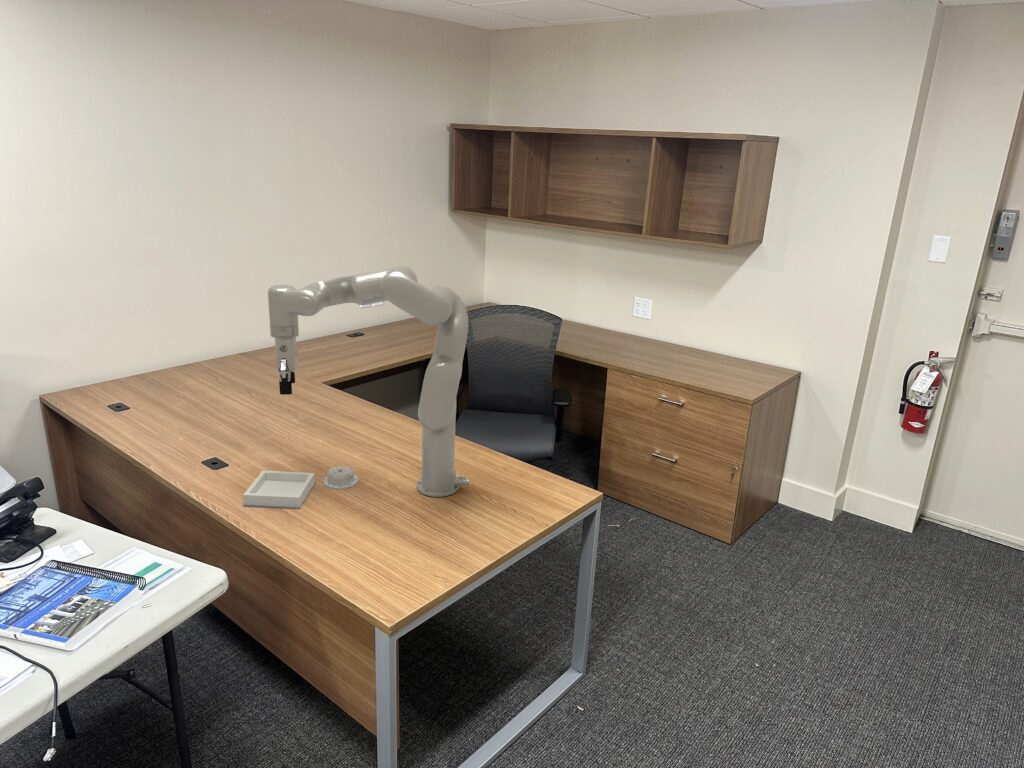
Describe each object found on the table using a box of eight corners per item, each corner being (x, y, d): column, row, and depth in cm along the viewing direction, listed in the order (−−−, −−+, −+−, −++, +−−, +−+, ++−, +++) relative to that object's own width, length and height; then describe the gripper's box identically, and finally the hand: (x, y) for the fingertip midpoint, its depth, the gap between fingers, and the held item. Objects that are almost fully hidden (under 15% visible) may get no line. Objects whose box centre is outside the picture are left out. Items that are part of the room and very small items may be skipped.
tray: (315, 482, 212) (314, 473, 211) (299, 507, 197) (299, 497, 196) (263, 480, 212) (262, 470, 211) (244, 505, 197) (243, 494, 196)
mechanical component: (365, 483, 214) (343, 473, 220) (364, 470, 213) (343, 460, 218) (337, 495, 207) (316, 484, 212) (337, 481, 205) (316, 470, 211)
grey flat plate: (316, 482, 213) (316, 481, 213) (299, 510, 197) (299, 509, 196) (264, 480, 213) (264, 479, 213) (242, 507, 197) (242, 506, 197)
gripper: (295, 338, 191) (298, 398, 197) (301, 322, 207) (303, 378, 213) (266, 338, 190) (270, 399, 195) (273, 322, 206) (277, 379, 211)
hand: (287, 388), depth 204 cm, fingers open, 9 cm apart
